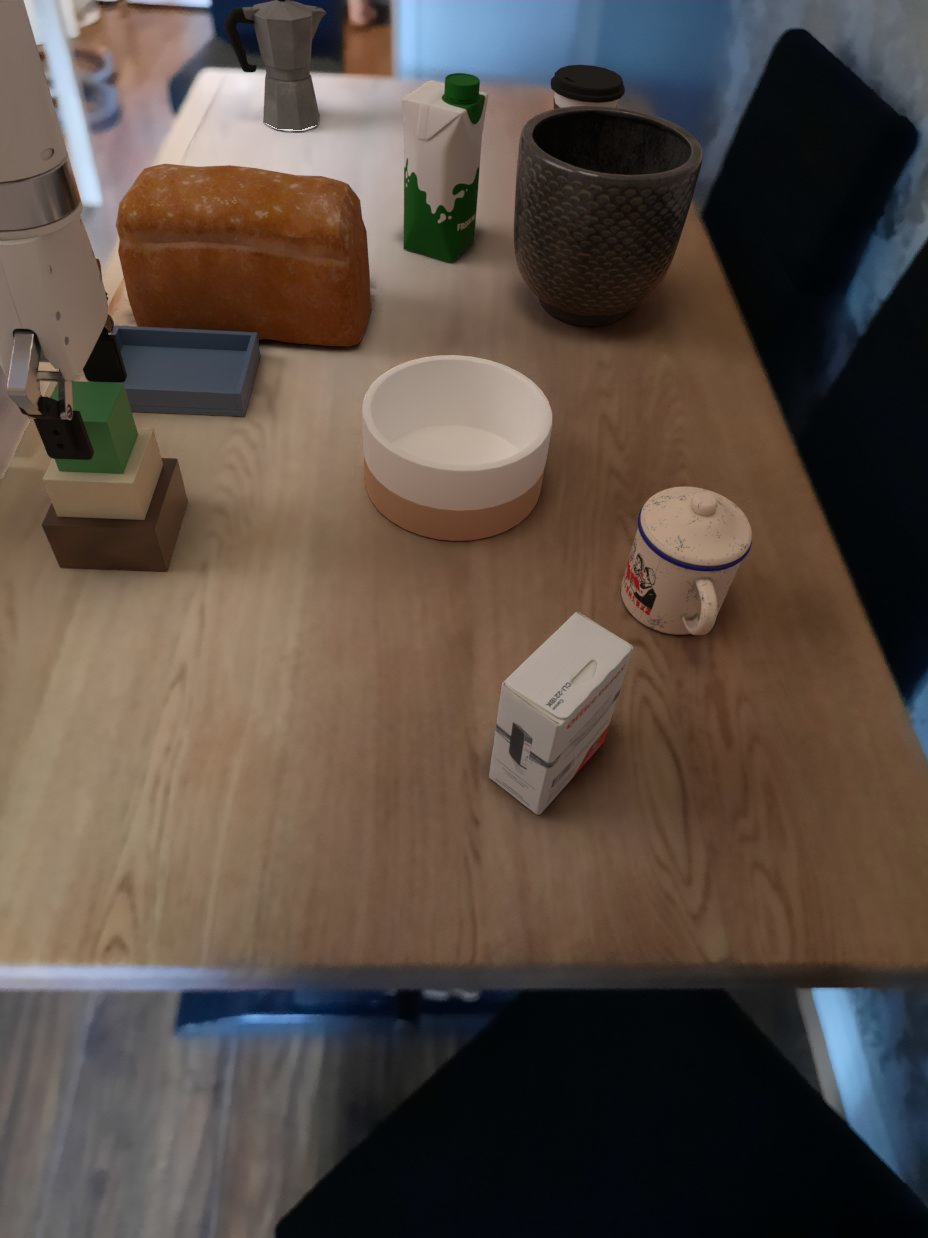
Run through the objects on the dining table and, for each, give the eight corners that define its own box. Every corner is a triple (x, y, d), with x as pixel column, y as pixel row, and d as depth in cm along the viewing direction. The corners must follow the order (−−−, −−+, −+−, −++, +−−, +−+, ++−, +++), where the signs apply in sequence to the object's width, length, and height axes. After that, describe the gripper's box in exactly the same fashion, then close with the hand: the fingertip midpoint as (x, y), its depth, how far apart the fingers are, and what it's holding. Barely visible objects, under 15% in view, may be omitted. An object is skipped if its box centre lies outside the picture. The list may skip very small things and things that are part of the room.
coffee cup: (569, 183, 128) (583, 94, 119) (527, 155, 134) (536, 68, 124) (625, 170, 132) (642, 83, 123) (581, 143, 138) (594, 58, 129)
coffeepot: (322, 106, 141) (314, -27, 128) (341, 128, 136) (334, -8, 122) (230, 115, 137) (211, -22, 123) (245, 138, 131) (227, -2, 118)
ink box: (553, 705, 67) (578, 605, 57) (605, 742, 65) (639, 645, 56) (484, 777, 62) (499, 681, 53) (538, 818, 60) (563, 726, 51)
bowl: (339, 445, 85) (335, 373, 79) (494, 410, 90) (502, 340, 84) (403, 562, 75) (404, 490, 69) (572, 515, 81) (588, 444, 74)
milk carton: (455, 268, 109) (464, 95, 94) (392, 250, 112) (392, 77, 96) (483, 240, 115) (496, 72, 100) (423, 223, 117) (427, 55, 102)
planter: (670, 280, 111) (711, 120, 96) (651, 362, 98) (696, 192, 84) (522, 253, 113) (540, 93, 99) (486, 329, 101) (501, 158, 86)
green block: (58, 471, 67) (38, 419, 63) (76, 431, 70) (58, 379, 67) (123, 474, 67) (107, 422, 64) (138, 434, 71) (123, 382, 67)
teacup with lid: (608, 561, 77) (635, 460, 68) (705, 560, 78) (745, 459, 69) (635, 668, 69) (671, 570, 60) (743, 665, 70) (794, 568, 61)
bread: (162, 274, 104) (131, 136, 92) (376, 292, 104) (373, 157, 92) (127, 336, 95) (88, 192, 83) (361, 355, 96) (355, 215, 84)
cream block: (57, 517, 69) (41, 479, 66) (81, 461, 74) (68, 423, 71) (144, 520, 70) (133, 483, 67) (163, 465, 74) (153, 427, 71)
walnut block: (59, 567, 73) (40, 525, 69) (89, 496, 78) (73, 453, 75) (167, 571, 73) (154, 529, 69) (188, 500, 79) (177, 458, 75)
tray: (92, 409, 87) (85, 386, 84) (120, 348, 94) (114, 324, 92) (244, 416, 87) (240, 393, 85) (260, 354, 95) (257, 332, 92)
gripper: (-1, 131, 59) (73, 352, 72) (-109, 253, 47) (3, 489, 60) (110, 136, 59) (164, 355, 72) (29, 259, 48) (110, 492, 61)
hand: (90, 416), depth 66 cm, fingers open, 9 cm apart
